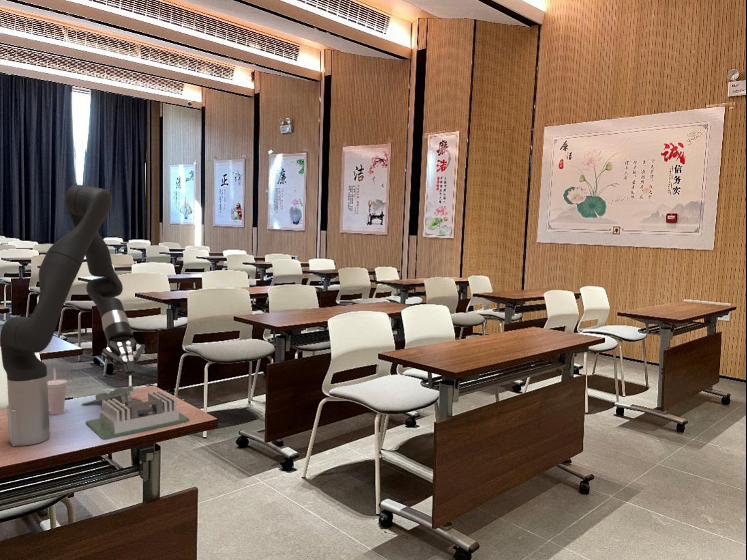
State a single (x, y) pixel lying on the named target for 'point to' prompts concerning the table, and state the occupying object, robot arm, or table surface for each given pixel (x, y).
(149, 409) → the dark gray rectangular plate
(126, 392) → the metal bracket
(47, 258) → the robot arm
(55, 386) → the smoothie
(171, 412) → the heatsink
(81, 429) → the table surface
